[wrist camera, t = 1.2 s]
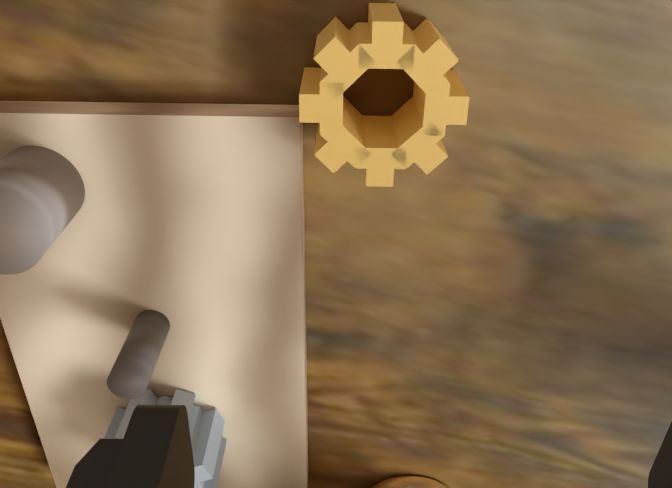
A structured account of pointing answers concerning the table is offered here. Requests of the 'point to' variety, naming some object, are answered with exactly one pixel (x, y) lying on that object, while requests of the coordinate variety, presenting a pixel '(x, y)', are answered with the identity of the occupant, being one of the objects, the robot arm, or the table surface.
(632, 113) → the table surface
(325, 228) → the table surface
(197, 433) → the gear
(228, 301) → the gear board
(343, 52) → the gear
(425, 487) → the beer glass
